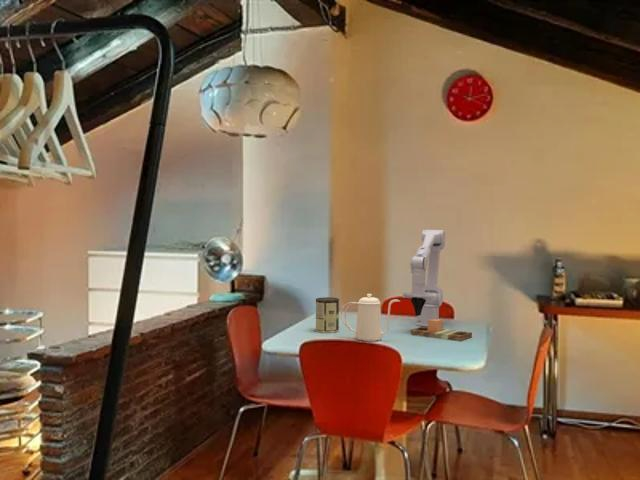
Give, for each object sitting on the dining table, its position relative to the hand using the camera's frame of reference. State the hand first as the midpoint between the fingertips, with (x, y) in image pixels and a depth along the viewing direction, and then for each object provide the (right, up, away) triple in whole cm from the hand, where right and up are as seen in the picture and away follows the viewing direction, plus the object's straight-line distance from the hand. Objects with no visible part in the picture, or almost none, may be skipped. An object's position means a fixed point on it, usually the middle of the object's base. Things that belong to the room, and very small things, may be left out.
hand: (418, 315), depth 305 cm
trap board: (+9, -8, -6) cm, 13 cm away
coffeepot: (-22, -9, -15) cm, 28 cm away
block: (+7, -6, -4) cm, 10 cm away
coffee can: (-39, -7, +4) cm, 40 cm away
